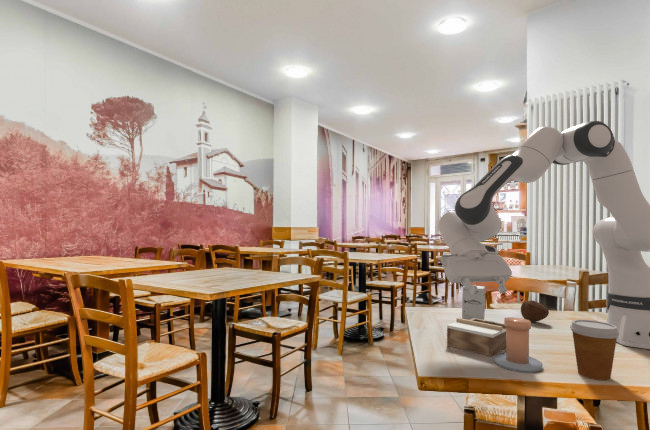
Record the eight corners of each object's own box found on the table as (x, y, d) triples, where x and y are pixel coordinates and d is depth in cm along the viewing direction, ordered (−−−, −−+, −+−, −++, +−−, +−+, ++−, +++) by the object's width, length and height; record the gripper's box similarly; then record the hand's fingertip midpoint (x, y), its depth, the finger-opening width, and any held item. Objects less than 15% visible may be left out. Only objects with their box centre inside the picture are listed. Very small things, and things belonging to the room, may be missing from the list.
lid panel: (502, 333, 106) (502, 326, 106) (492, 337, 101) (492, 330, 101) (457, 323, 115) (458, 317, 115) (447, 327, 111) (447, 321, 111)
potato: (526, 318, 146) (526, 297, 146) (553, 324, 137) (553, 302, 138) (515, 320, 142) (515, 299, 142) (541, 326, 134) (541, 304, 134)
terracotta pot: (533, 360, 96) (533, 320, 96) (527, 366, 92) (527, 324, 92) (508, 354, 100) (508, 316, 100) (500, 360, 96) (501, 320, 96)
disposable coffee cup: (560, 367, 94) (560, 319, 94) (597, 367, 95) (597, 319, 95) (590, 384, 85) (590, 329, 85) (630, 383, 85) (630, 329, 86)
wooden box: (516, 342, 114) (516, 326, 114) (492, 356, 101) (492, 337, 101) (473, 333, 123) (473, 318, 123) (447, 345, 110) (447, 327, 111)
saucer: (548, 364, 96) (548, 360, 96) (534, 376, 88) (534, 372, 88) (502, 353, 104) (502, 350, 104) (486, 363, 96) (486, 359, 96)
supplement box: (461, 321, 139) (461, 286, 139) (464, 317, 146) (464, 284, 146) (483, 324, 136) (483, 288, 136) (485, 319, 142) (485, 285, 142)
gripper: (442, 247, 111) (462, 286, 102) (501, 248, 117) (525, 284, 107) (433, 261, 116) (452, 300, 106) (491, 261, 121) (513, 297, 111)
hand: (489, 292), depth 106 cm, fingers open, 8 cm apart
